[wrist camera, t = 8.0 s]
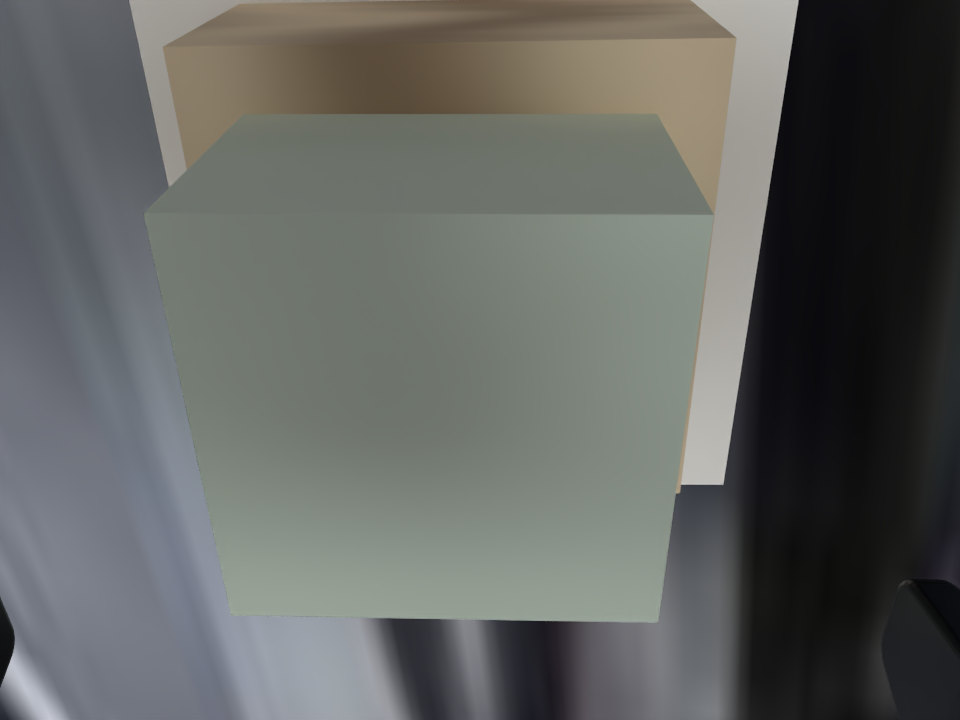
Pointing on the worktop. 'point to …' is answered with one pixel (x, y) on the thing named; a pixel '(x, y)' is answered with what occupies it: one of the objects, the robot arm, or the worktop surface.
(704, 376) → the baseplate
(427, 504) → the sage brick
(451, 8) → the wood brick
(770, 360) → the worktop surface
